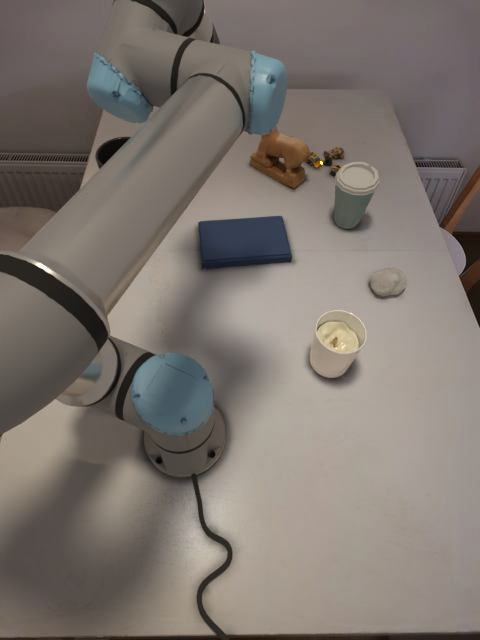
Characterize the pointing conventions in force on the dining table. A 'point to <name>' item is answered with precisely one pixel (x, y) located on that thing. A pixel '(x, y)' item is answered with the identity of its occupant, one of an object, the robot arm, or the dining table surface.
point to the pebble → (388, 281)
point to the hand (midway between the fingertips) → (225, 113)
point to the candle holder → (336, 342)
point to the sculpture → (277, 148)
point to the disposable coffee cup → (353, 192)
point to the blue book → (243, 242)
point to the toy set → (327, 159)
